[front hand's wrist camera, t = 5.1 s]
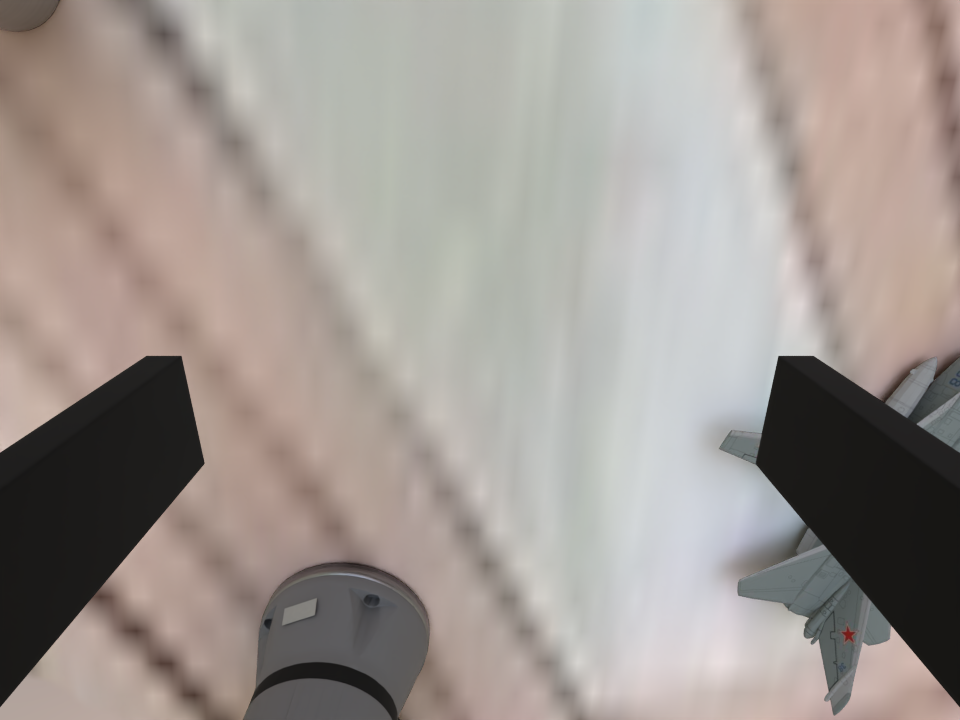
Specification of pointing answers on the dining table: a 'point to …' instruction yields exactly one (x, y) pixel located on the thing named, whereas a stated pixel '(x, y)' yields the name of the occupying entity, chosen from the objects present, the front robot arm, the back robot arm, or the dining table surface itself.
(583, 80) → the dining table surface
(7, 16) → the bottle
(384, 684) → the back robot arm
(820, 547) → the airplane
